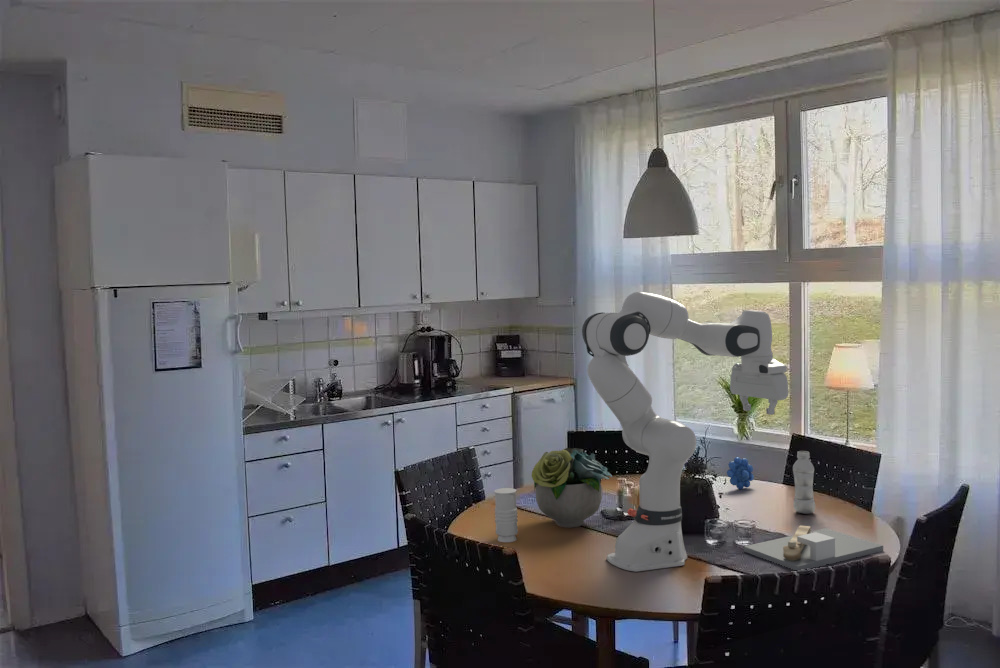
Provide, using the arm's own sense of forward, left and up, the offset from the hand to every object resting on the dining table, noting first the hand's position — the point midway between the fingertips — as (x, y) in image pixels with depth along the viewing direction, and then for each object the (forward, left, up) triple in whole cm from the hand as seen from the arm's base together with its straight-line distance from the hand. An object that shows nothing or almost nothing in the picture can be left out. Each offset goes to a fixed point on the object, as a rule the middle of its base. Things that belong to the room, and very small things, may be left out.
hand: (758, 412), depth 247 cm
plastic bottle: (+30, +12, -38) cm, 50 cm away
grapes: (+35, +46, -38) cm, 69 cm away
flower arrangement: (-40, +43, -38) cm, 70 cm away
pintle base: (+3, -17, -37) cm, 41 cm away
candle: (-64, +40, -38) cm, 84 cm away
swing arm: (-2, -16, -35) cm, 39 cm away
